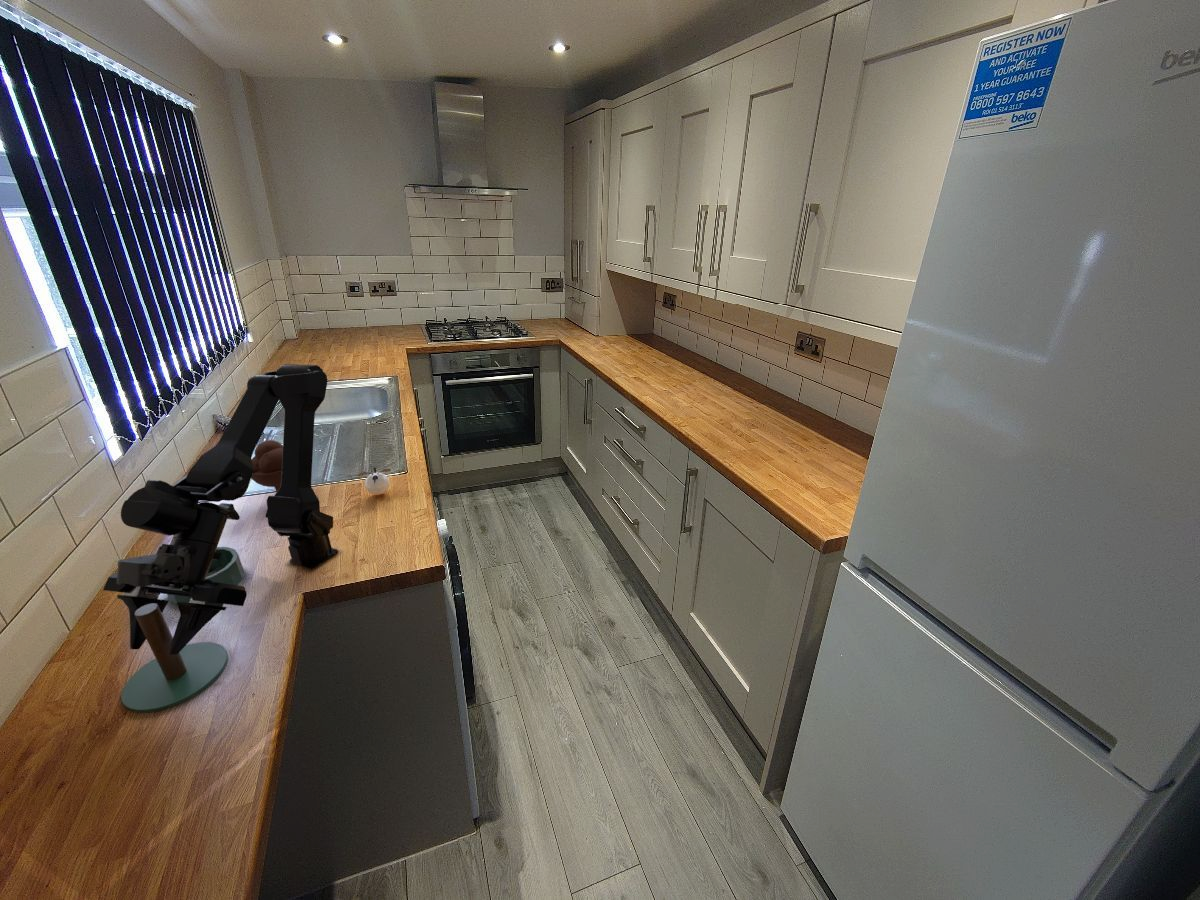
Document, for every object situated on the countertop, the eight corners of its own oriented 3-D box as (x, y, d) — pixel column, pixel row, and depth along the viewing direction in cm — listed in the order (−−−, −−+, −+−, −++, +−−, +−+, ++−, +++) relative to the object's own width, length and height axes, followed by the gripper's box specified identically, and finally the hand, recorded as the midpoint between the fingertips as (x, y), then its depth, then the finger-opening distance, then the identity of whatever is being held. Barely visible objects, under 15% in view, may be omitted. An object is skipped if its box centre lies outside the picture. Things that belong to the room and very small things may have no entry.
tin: (219, 562, 105) (211, 541, 103) (258, 575, 101) (251, 554, 99) (155, 598, 95) (145, 576, 93) (196, 614, 91) (187, 591, 89)
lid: (195, 639, 85) (166, 572, 80) (248, 661, 81) (221, 592, 76) (104, 699, 75) (64, 627, 70) (159, 728, 70) (121, 654, 65)
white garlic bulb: (362, 506, 124) (356, 480, 121) (364, 491, 131) (358, 466, 128) (395, 500, 126) (389, 475, 124) (395, 486, 133) (390, 462, 130)
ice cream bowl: (246, 506, 125) (227, 449, 119) (287, 486, 135) (271, 432, 129) (278, 514, 122) (260, 455, 116) (317, 492, 131) (303, 437, 125)
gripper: (89, 525, 73) (35, 643, 68) (204, 535, 70) (157, 660, 65) (161, 541, 84) (119, 644, 78) (264, 551, 81) (228, 659, 75)
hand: (153, 651), depth 74 cm, fingers open, 6 cm apart
